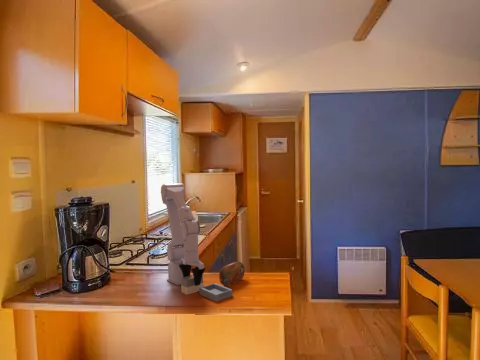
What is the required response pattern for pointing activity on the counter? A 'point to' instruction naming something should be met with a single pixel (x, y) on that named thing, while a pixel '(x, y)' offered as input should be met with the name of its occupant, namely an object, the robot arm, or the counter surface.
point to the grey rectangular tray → (215, 292)
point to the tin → (231, 273)
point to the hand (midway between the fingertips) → (192, 282)
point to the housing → (190, 285)
